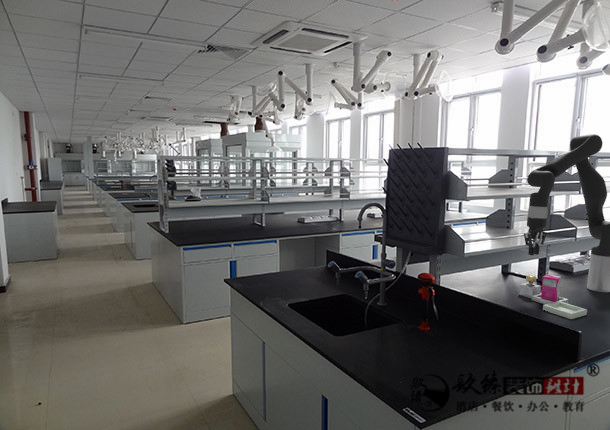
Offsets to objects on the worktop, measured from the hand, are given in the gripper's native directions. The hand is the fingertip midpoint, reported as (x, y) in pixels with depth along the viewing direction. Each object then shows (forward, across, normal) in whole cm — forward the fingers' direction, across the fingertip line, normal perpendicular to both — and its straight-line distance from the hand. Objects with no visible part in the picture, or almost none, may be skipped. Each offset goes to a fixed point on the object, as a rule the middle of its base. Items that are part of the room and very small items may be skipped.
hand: (533, 254), depth 179 cm
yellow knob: (+17, 0, 0) cm, 17 cm away
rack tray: (+19, +7, +19) cm, 28 cm away
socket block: (+19, 0, +6) cm, 20 cm away
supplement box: (+19, 0, +9) cm, 21 cm away
